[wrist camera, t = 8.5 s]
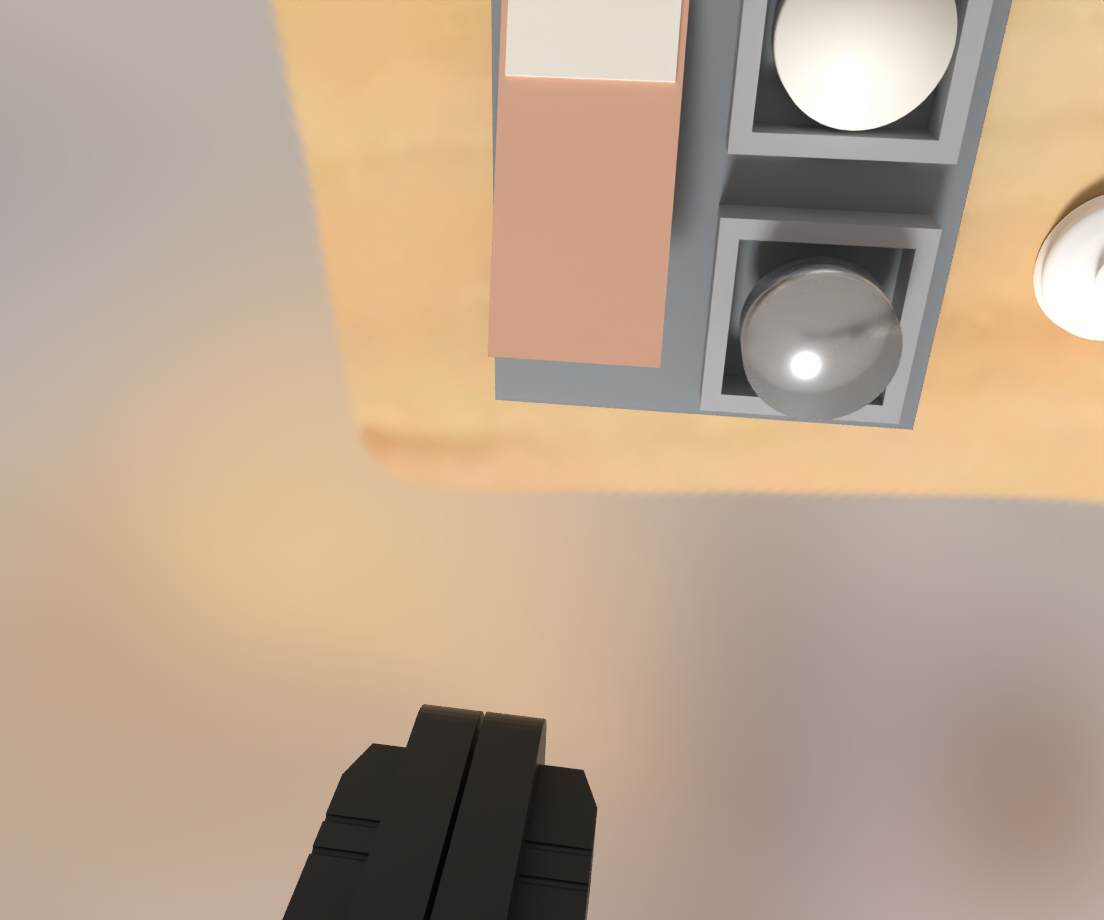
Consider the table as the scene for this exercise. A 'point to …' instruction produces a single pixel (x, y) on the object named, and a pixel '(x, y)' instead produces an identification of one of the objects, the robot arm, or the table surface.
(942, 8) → the white button
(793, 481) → the table surface
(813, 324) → the metal button
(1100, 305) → the chess piece
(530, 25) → the rocker
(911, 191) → the panel
